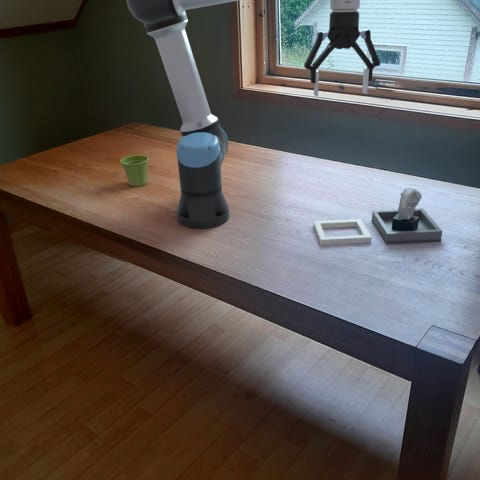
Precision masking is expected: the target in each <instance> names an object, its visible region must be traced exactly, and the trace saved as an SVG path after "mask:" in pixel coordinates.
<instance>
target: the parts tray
mask: <svg viewBox="0 0 480 480" xmlns="http://www.w3.org/2000/svg"><path fill="white" fill-rule="evenodd" d="M371 213H372V214H371V222H372V224H373V225H374V227H375V228H376V230H377V232H378V233H379V235H380V237H381V238H382V240H383V242H384V243H385V245H400V244H419V243H423V244H424V243H436V242H437V243H439V242H440V243H441V242H442V236H443V230H442V229H441V228H440V226H439V225H438V224H437V223H436V222H435V221H434V220H433V218H432V217H431V216H430V215H429V214H428V212H427V211H426V210H424V208H415V211H414V213H413V215H412V216H417V217H419V222H418V228H417V229H416V230H415V231H398V230H394V229H392V221H393V218H394V217H395V216H396V215H397V214H398V209H389V210H387V209H385V210H384V209H383V210H372V212H371Z"/></svg>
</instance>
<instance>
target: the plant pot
mask: <svg viewBox="0 0 480 480" xmlns="http://www.w3.org/2000/svg"><path fill="white" fill-rule="evenodd" d="M149 158H150V157H148V156H147V155H143V154H134V155H128V156H126V157H122V158H121V159H120V164H122V167H123V170H124V171H125V175H126V178H127V183H128V185H129V186H130V187H133V186H134V187H138V188H139V187H142V186H144V185H146V184H147V183H148V164H149V160H150V159H149Z"/></svg>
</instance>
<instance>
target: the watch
mask: <svg viewBox="0 0 480 480" xmlns="http://www.w3.org/2000/svg"><path fill="white" fill-rule="evenodd" d="M399 199H400V200H399V203H398V208H397V210H398V214H397V215H396V216H395V217H394V218H393V221H392V229H394V230H398V231H415V230H416V229H417V228H418V222H419V217H417V216H412V215H413V213H414V211H415V209H417V208H416V207H417V206H418V205H419V203H420V201H421V200H422V194H421V192H420V191H419V190H417V189H415V188H412V187H408V188H404V190H402V192H401V193H400V198H399Z"/></svg>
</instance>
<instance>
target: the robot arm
mask: <svg viewBox="0 0 480 480" xmlns="http://www.w3.org/2000/svg"><path fill="white" fill-rule="evenodd" d="M237 1H239V0H126V5H127V8H128V10H129V12H130V14H131V15H132V16H133V17H134V18H135V19H136V20H138V21H139V22H141V23H143V26H144V28H145V31H146V34H147V35H149V36H150V37H151V38H153V39H154V40H155V43H156V45H157V46H156V47H157V49H158V52H159V54H160V57H161V61H162V63H163V64H162V65H163V67H164V70H165V72H166V76H167V79H168V81H169V85H170V88H171V90H172V91H171V92H172V94H173V96H174V99H175V102H176V106H177V109H178V112H179V115H180V117H181V120H182V125H181V127H180V130H179V131H180V133H181V136H182V137H181V138H180V139H179V140H178V142H177V144H176V152H175V154H176V158H177V166H178V176H179V187H180V197H179V201H178V205H177V208H176V209H177V210H176V219H177V222H178V223H179V224H180V225H182V226H184V227H187V228H192V229H208V228H213V227H217V226H220V225H222V224H224V223H225V222H227V221H229V219H230V208H229V205H228V202H227V200H226V197H225V194H224V193H223V186H222V185H223V184H222V168H221V167H222V164H223V161H224V159H225V158H226V155H227V152H228V150H229V146H228V145H229V141H228V136H227V133H226V132H225V130H223V128H222V127H221V124H220V120H219V117H218V116H216V115H214V114H213V113H211V109H210V106H209V105H210V104H209V103H208V99H207V96H206V93H205V89H204V86H203V83H202V80H201V77H200V73H199V71H198V67H197V64H196V61H195V60H196V59H195V57H194V54H193V52H192V51H193V50H192V48H191V45H190V42H189V38H188V35H187V31H186V26H187V25H188V21H189V19H188V17H187V13H186V11H188V10H193V9H199V8H203V7H210V6H215V5H221V4H227V3H232V2H237ZM360 7H361V0H330V3H329V9H330V10H331V12H330V13H329V24H328V25H329V26H328V27H329V28H328V31H327V32H326V31H325V32H324V31H320V30H318V31H317V32H316V38H315V42H314V43H313V46H312V48H311V49H310V51H309V54H308V56H307V58H306V60H305V62H304V65H303V67H304V68H305V70H307V71H308V70H309V71H310V76H309V77H310V83H311V84H313V95H314V97H319V81H320V80H319V77H320V72H319V70H318V69H319V67H320V66H321V65H322V63H323V62H325V60H326V59H327V57H328V56H329V55H330V54H331V52H333V51H334V49H336V50H342V49H344V50H345V49H346V50H348V49H349V50H350V49H351V48H352V49H353V50H354V52H355V53H356V54H357V55H358V57H359V58H360V59H361V60H362V62H363V63H364V65H365V66H366V67H363V75H362V76H363V77H362V87H361V88H362V91H361V92H362V93H363V94H364V95H368V90H369V82H370V81H372V79H373V72H374V71H373V69H375V68H376V67H379V66H381V61H380V58H379V56H378V54H377V53H378V52H377V51H376V49H375V46H374V43H373V41H372V37H371V34H372V33H371V30H370V29H367V28H365V29H364V30H359V29H360V28H359V24H360V12H359V9H360ZM360 37H361V39H363V40H364V43H365V46H366V49H367V50H368V53H369V55H370V57H371V60H372V61H371V60H370V59H369V58H368V57H367V55H366V54H365V52H364V51H363V50H362V48H361V47H360V45H359V44H358V43H357V40H358V39H359V38H360ZM326 38H327V39H328V40H329V43H328V44H327V45H326V47H325V48H324V49H323V50H322V52H321V53H320V54H319V56H318V57H317V59H316V60H315V61H314V59H315V58H316V56H317V54H318V51H319V50H320V48H321V45H322V44H323V42H324V41H325V40H326Z"/></svg>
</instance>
